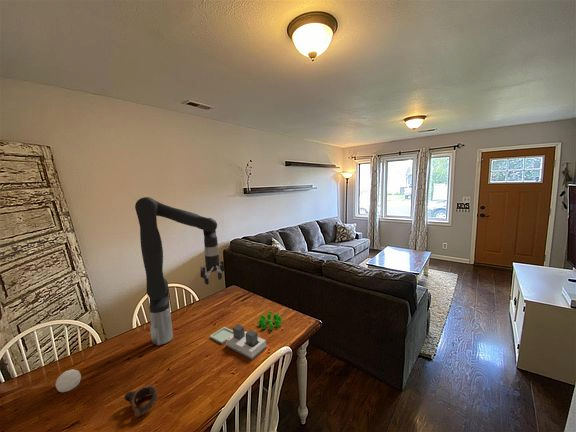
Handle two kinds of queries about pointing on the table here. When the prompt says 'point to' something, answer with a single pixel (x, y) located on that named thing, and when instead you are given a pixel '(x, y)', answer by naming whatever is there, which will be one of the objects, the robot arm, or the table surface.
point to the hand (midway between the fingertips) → (213, 281)
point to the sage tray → (221, 335)
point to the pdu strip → (244, 343)
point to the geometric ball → (68, 380)
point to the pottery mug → (139, 395)
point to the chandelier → (269, 321)
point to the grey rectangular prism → (251, 338)
